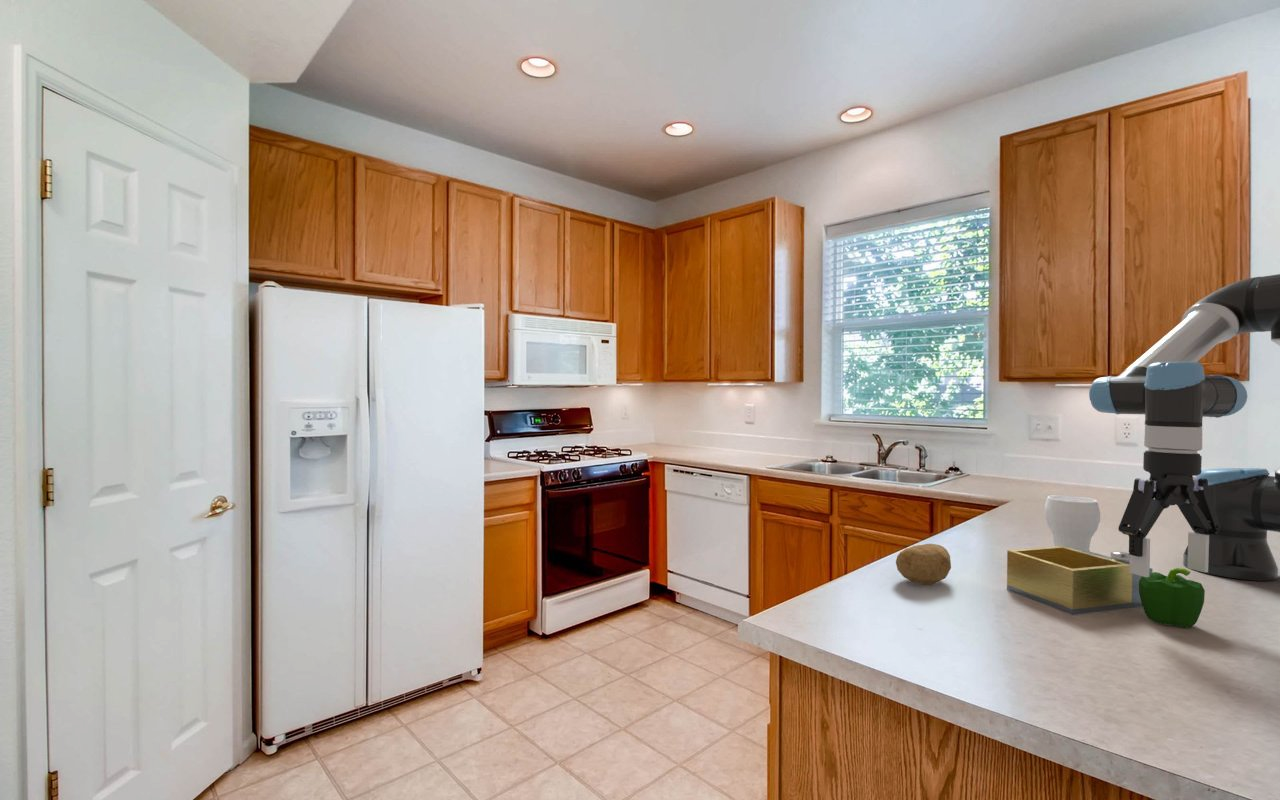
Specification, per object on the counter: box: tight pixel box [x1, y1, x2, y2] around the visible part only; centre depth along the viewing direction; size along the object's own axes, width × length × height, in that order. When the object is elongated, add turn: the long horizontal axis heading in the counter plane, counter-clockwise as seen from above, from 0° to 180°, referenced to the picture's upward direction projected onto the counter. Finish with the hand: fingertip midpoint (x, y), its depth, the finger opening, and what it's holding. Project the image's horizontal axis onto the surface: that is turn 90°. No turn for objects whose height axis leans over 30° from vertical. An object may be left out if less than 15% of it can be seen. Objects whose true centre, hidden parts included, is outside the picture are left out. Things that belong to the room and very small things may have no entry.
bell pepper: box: [1139, 567, 1206, 628], centre depth 104 cm, size 8×8×10 cm
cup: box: [1044, 494, 1101, 552], centre depth 140 cm, size 11×11×15 cm
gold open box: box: [1006, 546, 1153, 615], centre depth 116 cm, size 19×14×9 cm
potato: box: [895, 543, 952, 586], centre depth 125 cm, size 10×14×8 cm
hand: (1168, 572), depth 103 cm, fingers open, 13 cm apart
